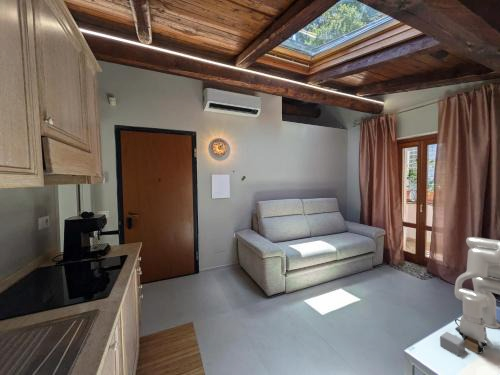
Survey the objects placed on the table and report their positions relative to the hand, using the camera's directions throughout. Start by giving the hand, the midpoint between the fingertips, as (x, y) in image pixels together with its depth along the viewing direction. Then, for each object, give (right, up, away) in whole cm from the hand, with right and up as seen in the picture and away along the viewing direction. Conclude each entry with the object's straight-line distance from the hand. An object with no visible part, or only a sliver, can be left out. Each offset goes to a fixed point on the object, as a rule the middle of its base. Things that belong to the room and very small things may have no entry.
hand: (473, 348), depth 118 cm
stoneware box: (-11, -1, +1) cm, 11 cm away
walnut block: (0, -1, 0) cm, 1 cm away
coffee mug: (+6, 0, +8) cm, 10 cm away
